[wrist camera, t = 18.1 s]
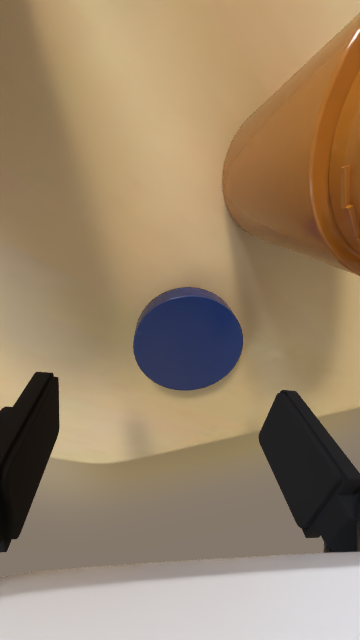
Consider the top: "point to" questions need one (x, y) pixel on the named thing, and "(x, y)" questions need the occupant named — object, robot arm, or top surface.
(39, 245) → the top surface
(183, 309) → the lid
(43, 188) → the top surface
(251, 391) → the top surface
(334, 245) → the jar
